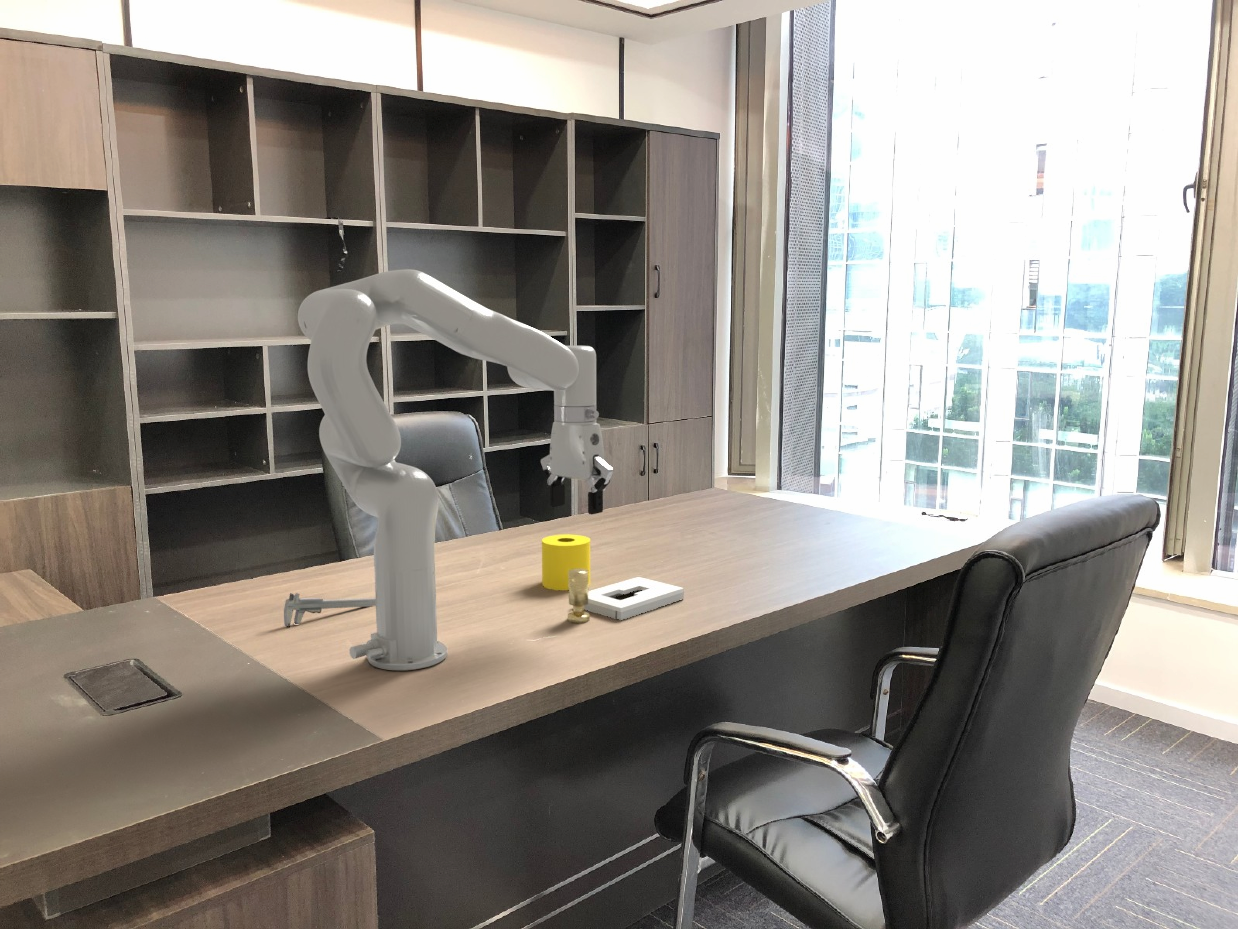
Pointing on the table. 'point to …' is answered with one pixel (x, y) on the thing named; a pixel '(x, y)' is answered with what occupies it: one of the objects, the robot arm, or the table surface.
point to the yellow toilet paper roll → (563, 559)
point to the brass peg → (578, 595)
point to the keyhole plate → (632, 598)
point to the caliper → (318, 606)
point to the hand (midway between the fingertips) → (576, 509)
